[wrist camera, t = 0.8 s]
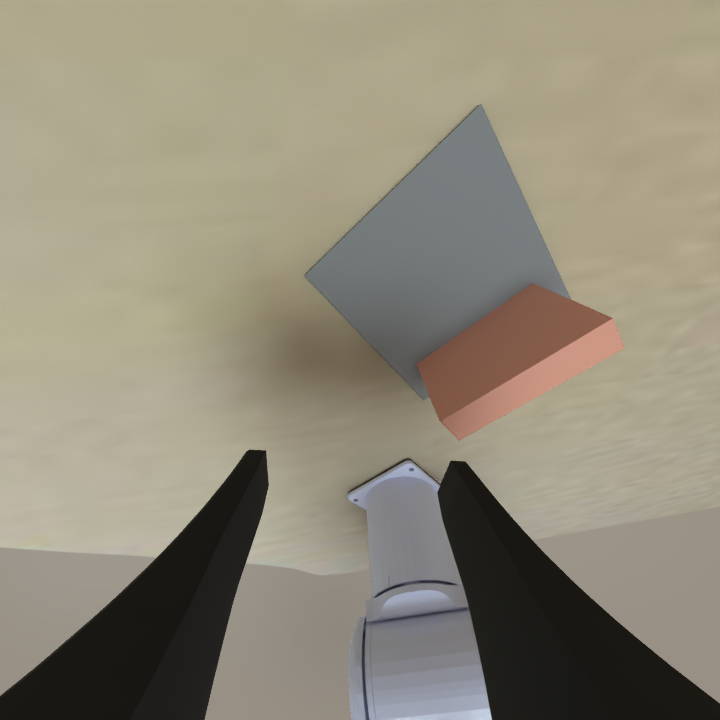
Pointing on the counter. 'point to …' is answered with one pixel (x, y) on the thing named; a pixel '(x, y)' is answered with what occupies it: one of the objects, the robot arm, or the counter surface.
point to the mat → (438, 252)
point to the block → (514, 357)
